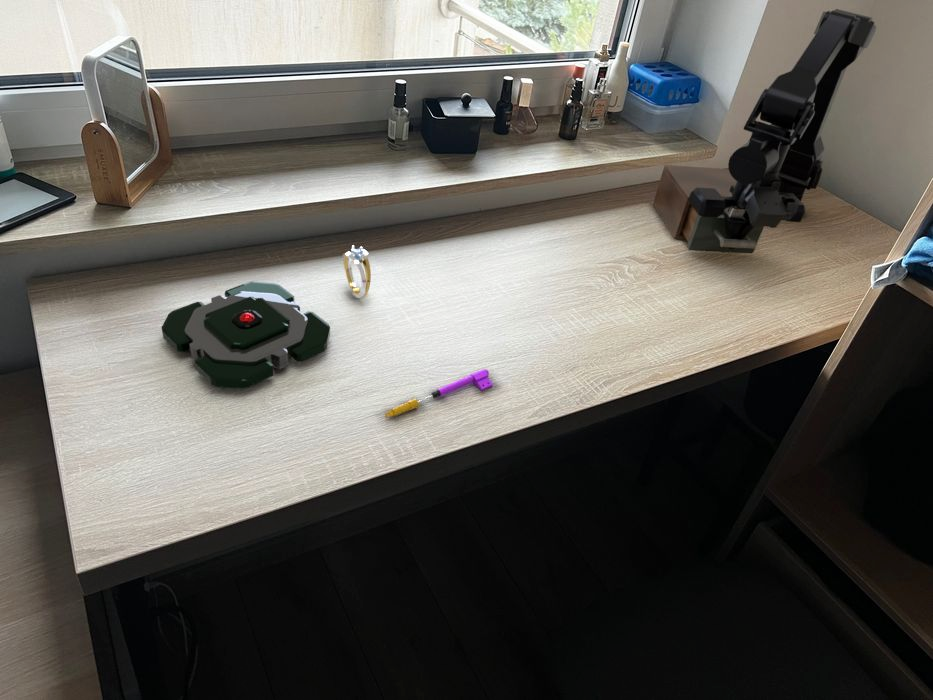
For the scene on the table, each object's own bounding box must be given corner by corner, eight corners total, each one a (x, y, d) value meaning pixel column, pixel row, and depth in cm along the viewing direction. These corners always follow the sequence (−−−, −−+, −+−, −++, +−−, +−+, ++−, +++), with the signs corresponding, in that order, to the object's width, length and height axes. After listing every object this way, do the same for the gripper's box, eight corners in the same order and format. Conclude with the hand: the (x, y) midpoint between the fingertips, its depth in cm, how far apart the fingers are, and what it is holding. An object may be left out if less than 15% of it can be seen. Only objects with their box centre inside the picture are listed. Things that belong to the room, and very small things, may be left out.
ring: (374, 306, 107) (376, 260, 102) (353, 309, 106) (354, 263, 101) (358, 281, 112) (359, 235, 107) (338, 284, 110) (338, 238, 106)
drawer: (764, 268, 128) (778, 234, 124) (698, 265, 126) (710, 230, 122) (727, 220, 141) (739, 188, 137) (666, 216, 139) (677, 184, 135)
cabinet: (742, 242, 136) (758, 201, 131) (674, 239, 134) (688, 197, 129) (716, 208, 147) (730, 169, 142) (652, 204, 145) (664, 164, 140)
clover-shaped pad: (267, 289, 107) (265, 262, 105) (343, 349, 98) (344, 322, 96) (152, 333, 96) (146, 306, 94) (226, 405, 88) (222, 377, 85)
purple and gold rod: (483, 371, 98) (383, 414, 89) (486, 366, 97) (384, 409, 88) (495, 386, 96) (394, 431, 88) (497, 381, 96) (396, 425, 87)
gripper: (727, 184, 110) (696, 270, 120) (838, 191, 113) (799, 275, 123) (701, 153, 119) (674, 236, 129) (805, 161, 122) (771, 241, 131)
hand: (730, 248), depth 128 cm, fingers closed, pressing on drawer
